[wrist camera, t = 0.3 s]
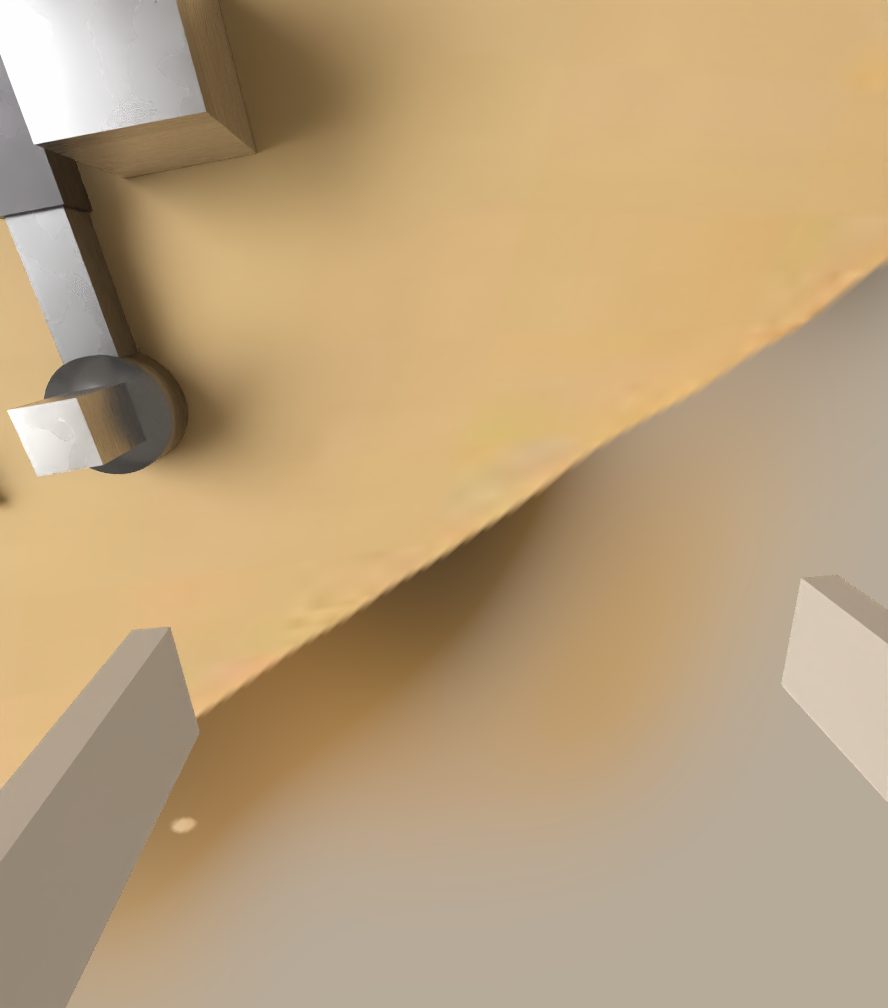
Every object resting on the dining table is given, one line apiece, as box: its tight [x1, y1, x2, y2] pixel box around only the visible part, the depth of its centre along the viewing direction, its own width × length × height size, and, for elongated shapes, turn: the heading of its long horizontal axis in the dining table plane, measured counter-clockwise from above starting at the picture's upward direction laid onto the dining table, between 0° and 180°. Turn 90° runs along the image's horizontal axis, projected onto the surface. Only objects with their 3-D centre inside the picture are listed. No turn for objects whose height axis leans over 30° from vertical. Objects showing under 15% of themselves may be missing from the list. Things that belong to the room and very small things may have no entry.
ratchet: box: [0, 55, 188, 477], centre depth 30 cm, size 22×7×8 cm, turn 10°
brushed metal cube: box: [0, 0, 256, 178], centre depth 26 cm, size 8×8×8 cm
